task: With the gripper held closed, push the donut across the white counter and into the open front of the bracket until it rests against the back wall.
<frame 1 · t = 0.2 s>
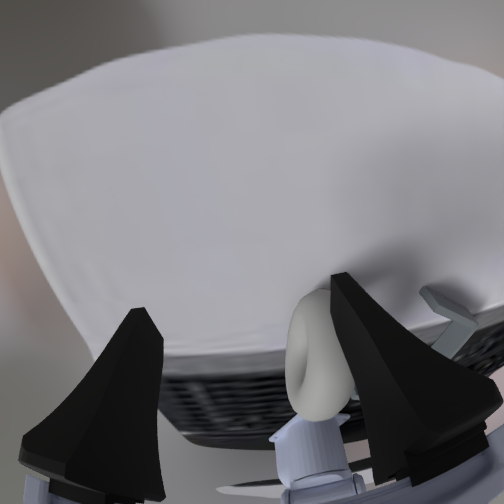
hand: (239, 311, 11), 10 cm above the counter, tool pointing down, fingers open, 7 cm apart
bracket: (397, 341, 27), on the counter
donut: (305, 312, 25), on the counter
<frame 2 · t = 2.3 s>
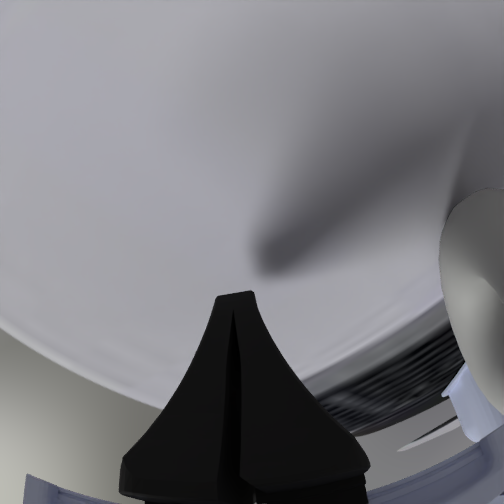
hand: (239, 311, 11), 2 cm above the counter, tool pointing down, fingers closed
donut: (449, 238, 12), on the counter
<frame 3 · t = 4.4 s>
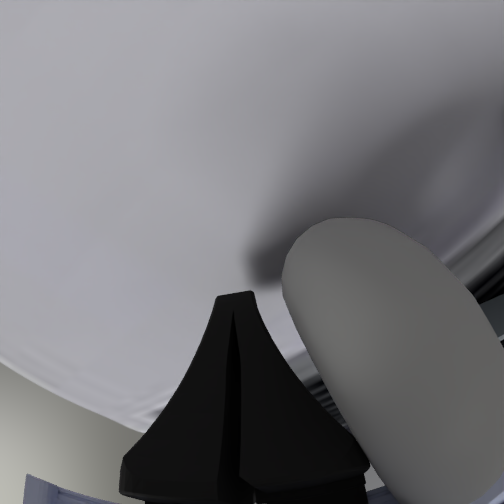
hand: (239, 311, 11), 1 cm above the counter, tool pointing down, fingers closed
donut: (319, 276, 12), on the counter
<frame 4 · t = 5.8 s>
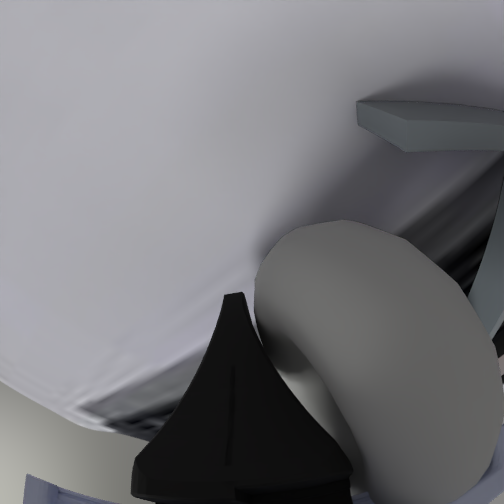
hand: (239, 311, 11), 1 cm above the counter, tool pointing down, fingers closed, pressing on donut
bracket: (403, 257, 12), on the counter
donut: (278, 294, 12), on the counter, touching gripper
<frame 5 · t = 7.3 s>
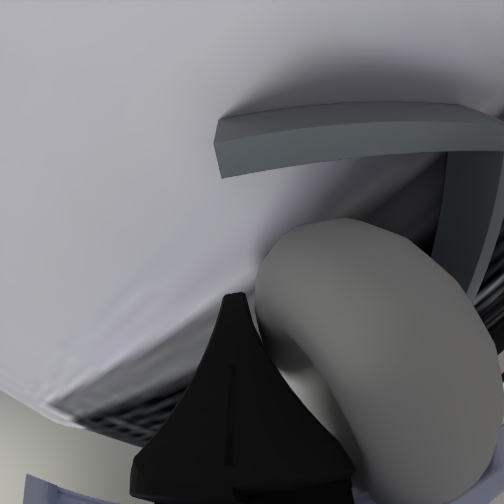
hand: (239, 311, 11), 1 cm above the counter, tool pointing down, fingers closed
bracket: (312, 277, 12), on the counter
donut: (278, 293, 12), on the counter, touching gripper
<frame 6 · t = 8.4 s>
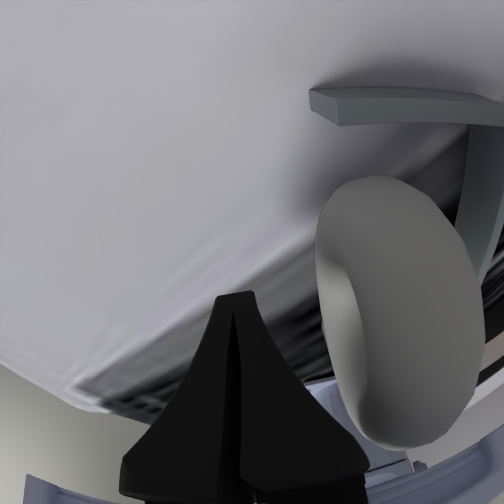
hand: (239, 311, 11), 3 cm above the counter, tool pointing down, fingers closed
bracket: (367, 230, 13), on the counter
donut: (337, 237, 14), on the counter
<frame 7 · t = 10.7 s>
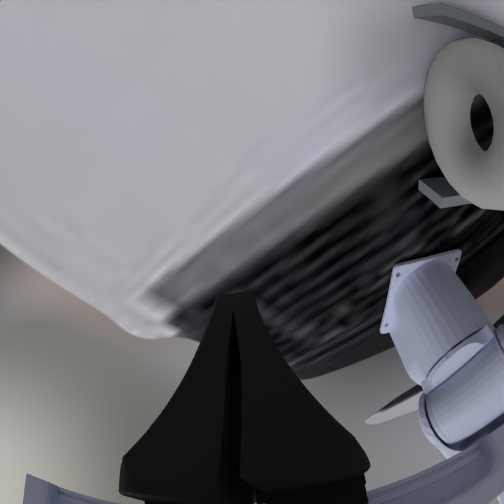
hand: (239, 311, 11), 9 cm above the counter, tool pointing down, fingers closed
bracket: (446, 101, 15), on the counter
donut: (430, 103, 15), on the counter
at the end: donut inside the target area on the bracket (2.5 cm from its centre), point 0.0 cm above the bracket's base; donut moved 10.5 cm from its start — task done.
